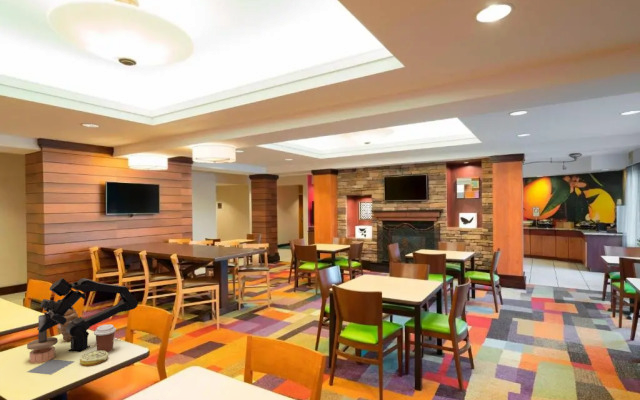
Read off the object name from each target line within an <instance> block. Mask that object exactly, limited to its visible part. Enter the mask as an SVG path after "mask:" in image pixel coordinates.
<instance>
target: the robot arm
mask: <svg viewBox="0 0 640 400" xmlns="http://www.w3.org/2000/svg"><path fill="white" fill-rule="evenodd" d="M73 289H74V290H73ZM48 290H49V291H51V292H52V293H54V294H55V295H57V296H59V297H62V298H61V299H58V300H57V301H55V300H52V299H47V298H44V299H42V301H41V303H40V305H39V307H40V308H42V309H43V310H44V312H43V315H47V321H46V322H45V324H44V325H43V326H42V327H41V329H40V330H39V332H40V333H41V332H43V331H45V330H47V331H48V330H49V329H51V328H53V327H55V326H58V325H60V324H62V325H64V324H65V323H66V322H67V319H66V318H65V317H64V316H65V315H64V314H65V313H66V312H67V311H68V310H69V309H70V310H71V309H72V307H74V305H75V304H76V303H77V302H78V301H79V300H80V299H81V298H82V300H87V299H86V298H87V297H86V295H87V293H88V292H89V293H90V292H91V293H93V292H105V293H113V294H119V296H120V298H121V300H120V301H119V302H117V304H114V305H112V306H110V307H108V308H106V309H104V310H101V311H99V312H97V313H95V314H93V315H91V316H89V317H86V318H83V317H82V316H78V318H77V319H75V320H72V322H70V323H69V324H68V325H67V327H66V331H67V332H68V333H69V334H70V335H71V336H73V337H71V340H70V349H68V352H72V353H81V352H83V351H84V350H87V349H89V348H91V345H88V343H89V339H88V338H89V334H90V333H89V331H88V330H89V329H90V328H91V327H92V326H95V325H96V324H99V323H101V322H102V321H105V320H107V319H109V318H111V317H114V316H115V315H118V314H120V313H124V312H128V311H131V310H135V309H136V308H137V307H138V305H139V301H138V299H137V298H135V297H134V295H133V294H132V293H131V292H130V290H129V288H128V287H127V286H126V285H117V284H109V283H104V282H103V283H101V282H97V281H95V280H91V279H90V278H86V277H85V278H83V277H82V278H80V279H79V280H77V281H74V282H68V281H67V280H66V279H64V278H63V277H61V278H60V279H59V280H56V281H55V282H53V283H52V285H50V287H49V289H48ZM45 311H46V312H45ZM36 329H37V331H38V328H36Z"/></svg>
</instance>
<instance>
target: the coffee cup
mask: <svg viewBox="0 0 640 400" xmlns="http://www.w3.org/2000/svg"><path fill="white" fill-rule="evenodd" d="M116 331H117V328H116V327H114V324H102V325H100V326H97V327H96V330H94V331H93V334H94V336H95V341H96V342H95V343H96V351H106V352H107V353H108V354H109V353H111V352H112V351H113V349H114V340H115V339H114V338H115V332H116Z"/></svg>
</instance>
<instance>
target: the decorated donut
mask: <svg viewBox="0 0 640 400" xmlns="http://www.w3.org/2000/svg"><path fill="white" fill-rule="evenodd" d="M108 357H109V353H107V352H106V351H97V350H94V351H90V352H87V353H84V354H82V355H81V356H80V357H79V363H80V364H81V365H82V366H86V367H91V366H96V365H99V364H101V363H104V362H105V361H106V360H107V359H108Z"/></svg>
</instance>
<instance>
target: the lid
mask: <svg viewBox="0 0 640 400" xmlns="http://www.w3.org/2000/svg"><path fill="white" fill-rule="evenodd" d="M46 321H47V315H45V314H42V315H38V327H37V329H38V330H37V331H38V332H37V333H38V336H37V337H38V338H37V339H34V340H32V341H29V342H28V343H27V344H26V348H27V350H31V351H32V350H37V349H43V348H47V347H50V346H53V347H54V345H56V344H58V342H59V341H58V338H57V337H56V336H47V335H48V329H47V330H45V331H43V332H41V333H40V332H39V330H40V329H41V327H42V326H43V325H44V324H45V322H46Z"/></svg>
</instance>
